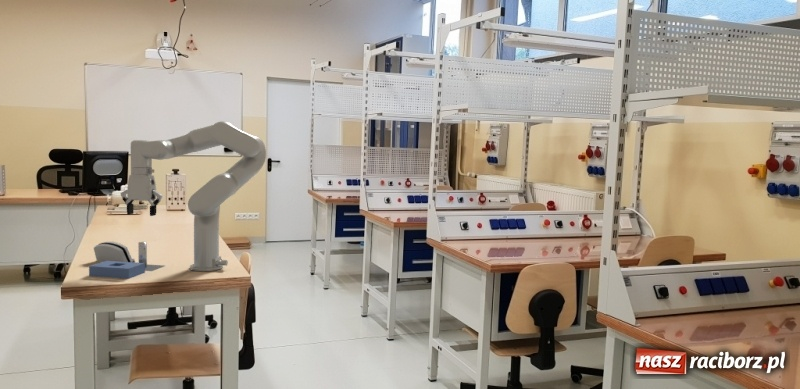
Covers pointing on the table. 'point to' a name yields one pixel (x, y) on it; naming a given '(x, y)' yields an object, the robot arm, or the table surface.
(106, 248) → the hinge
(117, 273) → the hole block
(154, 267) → the mat
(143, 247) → the peg
